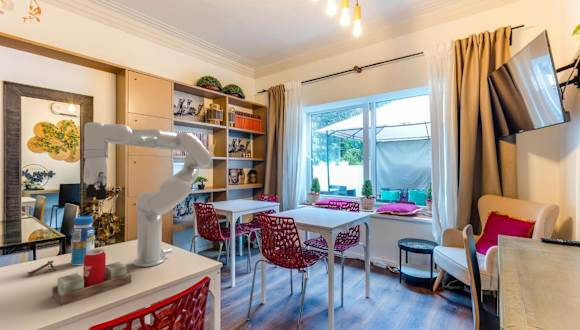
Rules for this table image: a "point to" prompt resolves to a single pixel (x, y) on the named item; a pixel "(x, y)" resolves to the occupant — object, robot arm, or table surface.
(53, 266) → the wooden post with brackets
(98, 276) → the beverage can
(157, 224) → the robot arm
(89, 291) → the rail
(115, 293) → the table surface
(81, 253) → the beverage bottle
